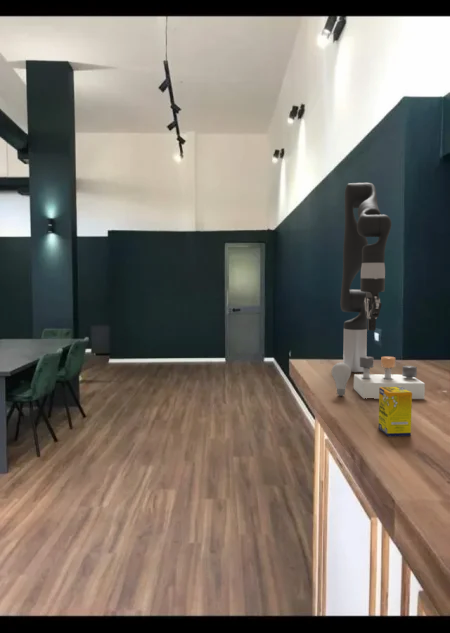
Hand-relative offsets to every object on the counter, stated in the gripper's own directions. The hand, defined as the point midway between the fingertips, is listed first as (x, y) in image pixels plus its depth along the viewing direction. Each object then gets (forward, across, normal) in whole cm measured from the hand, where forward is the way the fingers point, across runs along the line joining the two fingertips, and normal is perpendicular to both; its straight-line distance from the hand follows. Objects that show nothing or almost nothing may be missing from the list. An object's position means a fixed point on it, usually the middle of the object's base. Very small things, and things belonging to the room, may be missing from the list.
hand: (371, 330), depth 160 cm
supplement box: (+21, +41, -5) cm, 46 cm away
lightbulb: (+21, +4, -10) cm, 24 cm away
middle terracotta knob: (+18, 0, +6) cm, 18 cm away
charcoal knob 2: (+21, 0, +13) cm, 24 cm away
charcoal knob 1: (+18, 0, -1) cm, 18 cm away
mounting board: (+21, 0, +6) cm, 22 cm away
